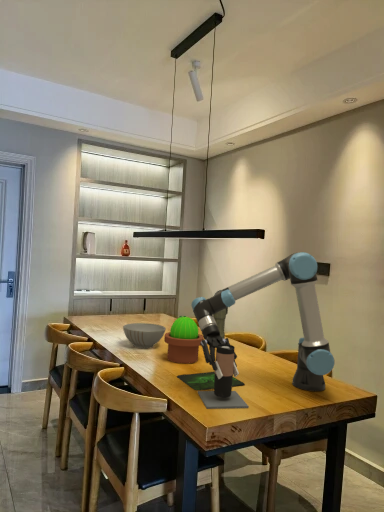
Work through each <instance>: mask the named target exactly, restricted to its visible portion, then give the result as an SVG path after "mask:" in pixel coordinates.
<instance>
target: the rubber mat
mask: <svg viewBox="0 0 384 512" xmlns="http://www.w3.org/2000/svg"><path fill="white" fill-rule="evenodd" d="M197 394H198V396H199V398H200V399H201V401H202V403H203V405H204V406H205V408H206V409H208V410H213V409H215V410H216V409H217V410H218V409H219V410H220V409H249V407H250V406H249V405H248V404H247V403H246V401H245V400H244V399H243V398H242V397H241V395H239V393H238V392H237V391H236V390H232V391H231V396H230V397H218V396H216V395H214V390H201V391H197Z"/></svg>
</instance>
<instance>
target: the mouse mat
mask: <svg viewBox="0 0 384 512" xmlns="http://www.w3.org/2000/svg"><path fill="white" fill-rule="evenodd" d="M214 376H215V371H214V370H213V371H207V372H200V373H199V372H198V373H189V374H187V373H186V374H185V373H183V374H178V375H176V378H177V379H179V380H180V381H181V382H183V383H184V384H185V385H187V387H189V388H191V389H192V390H194V391H197V392H198V391H211V390H214ZM239 386H245V382H243V381H241V380H239V379H238V378H236V377H234V376H233V381H232V388H234V387H239Z"/></svg>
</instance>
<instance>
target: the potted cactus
mask: <svg viewBox="0 0 384 512" xmlns="http://www.w3.org/2000/svg"><path fill="white" fill-rule="evenodd" d="M171 323H172V325H171V327H170V329H169V330H170V331H169V332H166V333H164V340H163V341H164V343H165V344H167V355H166V357H167V360H168V361H169V362H171V363H177V364H194V363H197V362H198V360H199V351H200V350H199V349H200V347H202V346H201V344H200V342H201V341H202V340H203V339H204V337H203V335H202V334H200V333H199V332H200V331H201V330H200V331H199V326H198V323H196V322H195V319H193V318H191V317H189V316H186V315H179V316H178V317H177V318H176V319H175V320H174V322H171Z"/></svg>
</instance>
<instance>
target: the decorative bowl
mask: <svg viewBox="0 0 384 512" xmlns="http://www.w3.org/2000/svg"><path fill="white" fill-rule="evenodd" d="M122 329H123V334H124V336H125V337H126V339H127V340H128V342H129V343H131V344H133V347H135V348H136V349H137V348H138V349H152V348H153V347H154V346H155V345H156V344H157V343H159V342H160V341H161V340H162V338H163V336H165V334H166V333H165V332H166V329H167V328H166V327H165V326H164V325H160V324H157V323H156V324H155V323H145V322H143V323H142V322H133V323H126V324H124V325H122Z"/></svg>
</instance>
